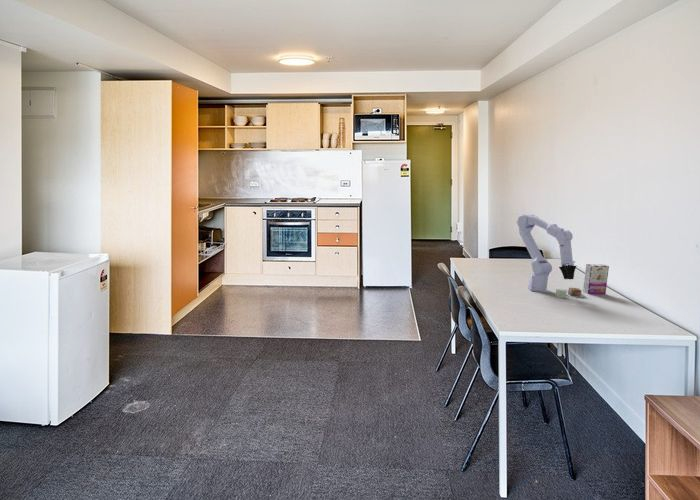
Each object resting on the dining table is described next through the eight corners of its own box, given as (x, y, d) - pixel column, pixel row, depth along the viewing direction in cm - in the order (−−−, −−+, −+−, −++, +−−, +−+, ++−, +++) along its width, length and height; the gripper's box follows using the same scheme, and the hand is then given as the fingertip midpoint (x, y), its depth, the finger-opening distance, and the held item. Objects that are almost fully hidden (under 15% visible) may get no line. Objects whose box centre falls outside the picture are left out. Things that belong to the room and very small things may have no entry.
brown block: (570, 295, 271) (571, 289, 270) (568, 293, 276) (568, 287, 275) (580, 296, 270) (581, 290, 270) (577, 294, 275) (578, 288, 275)
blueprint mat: (565, 296, 270) (566, 296, 270) (557, 289, 286) (557, 289, 285) (587, 298, 269) (587, 297, 269) (577, 291, 284) (577, 290, 284)
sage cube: (557, 298, 266) (558, 290, 265) (555, 296, 270) (556, 289, 269) (565, 299, 266) (566, 291, 265) (563, 297, 270) (564, 289, 269)
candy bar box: (599, 292, 285) (603, 264, 282) (605, 294, 280) (609, 265, 278) (581, 292, 283) (585, 263, 280) (587, 294, 278) (591, 265, 275)
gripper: (578, 252, 259) (581, 278, 258) (569, 253, 274) (572, 278, 273) (564, 253, 260) (567, 279, 259) (556, 254, 274) (558, 279, 274)
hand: (568, 279), depth 266 cm, fingers open, 7 cm apart
